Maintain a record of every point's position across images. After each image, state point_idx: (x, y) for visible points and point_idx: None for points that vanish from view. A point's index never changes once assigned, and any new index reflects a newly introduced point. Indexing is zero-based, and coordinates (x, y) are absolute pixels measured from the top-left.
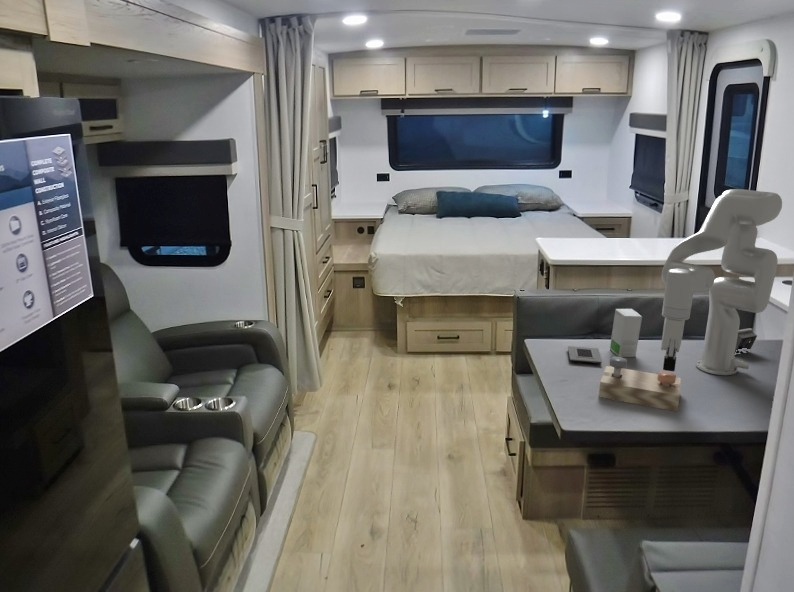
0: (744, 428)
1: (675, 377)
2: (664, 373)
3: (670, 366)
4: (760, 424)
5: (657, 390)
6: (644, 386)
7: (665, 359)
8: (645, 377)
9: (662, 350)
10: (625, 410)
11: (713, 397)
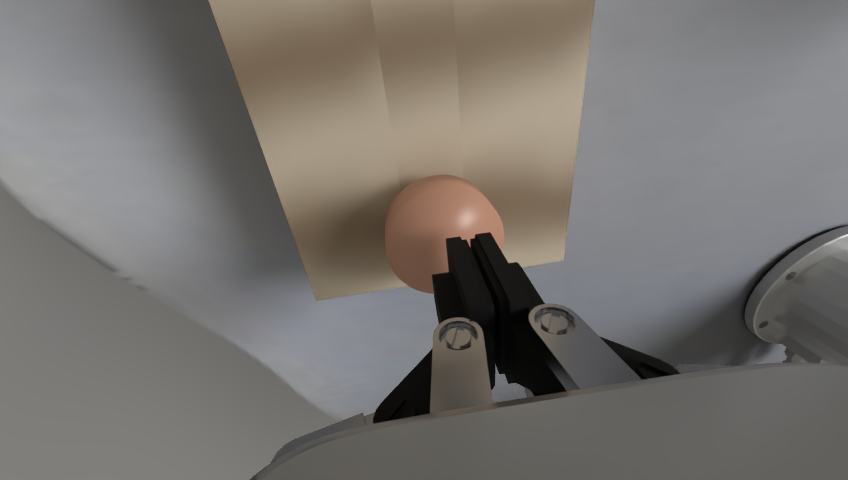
0: (343, 411)
1: (432, 291)
2: (461, 227)
3: (437, 310)
4: None
5: (301, 196)
6: (307, 108)
7: (464, 304)
8: (484, 78)
9: (272, 463)
10: (127, 25)
11: None
